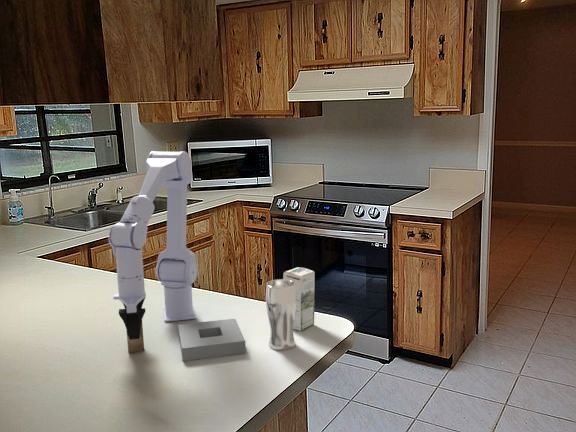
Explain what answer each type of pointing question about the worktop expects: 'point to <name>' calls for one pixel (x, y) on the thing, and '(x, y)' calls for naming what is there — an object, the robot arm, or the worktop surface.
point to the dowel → (136, 343)
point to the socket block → (210, 339)
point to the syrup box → (303, 296)
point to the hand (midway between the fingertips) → (134, 332)
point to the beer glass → (281, 313)
